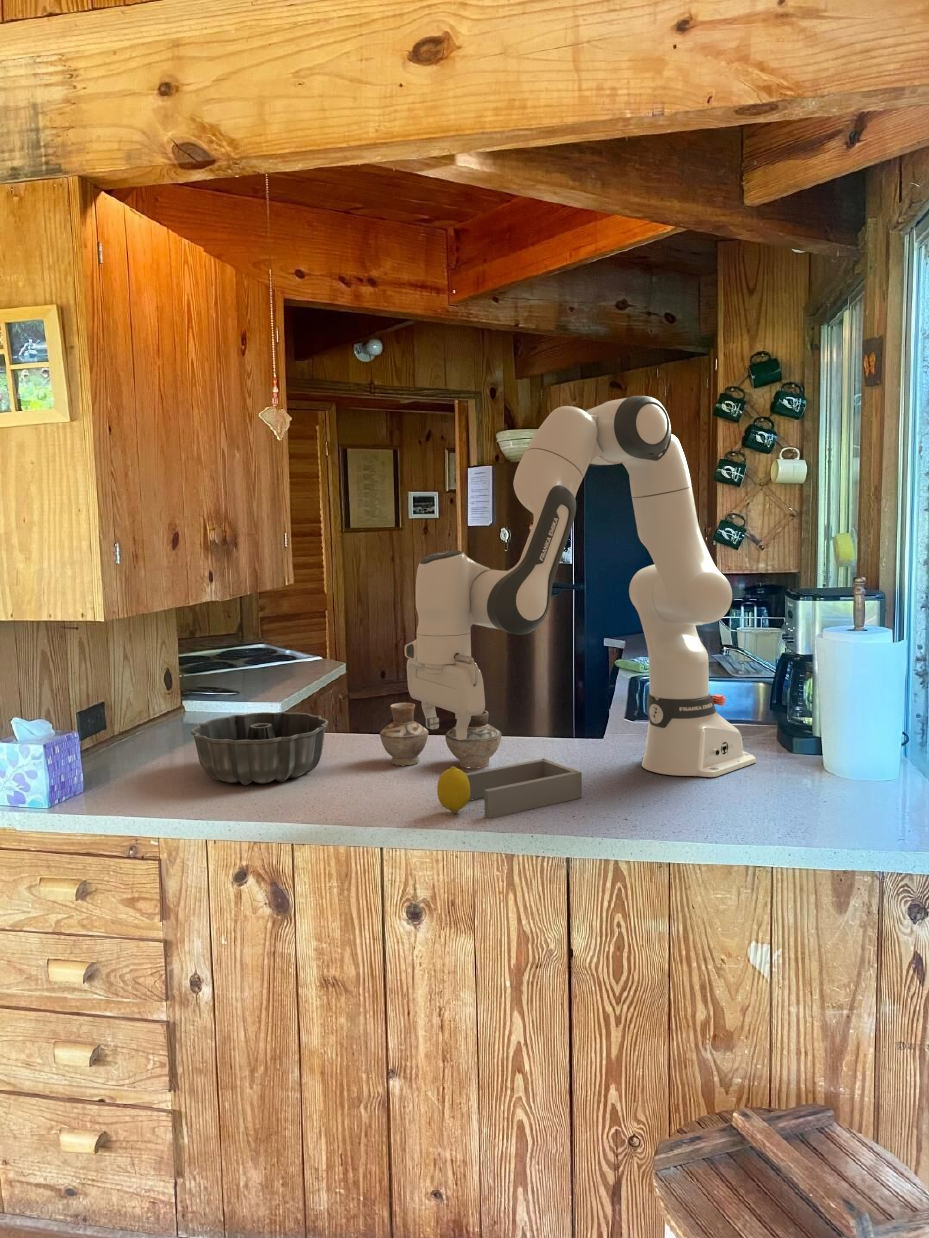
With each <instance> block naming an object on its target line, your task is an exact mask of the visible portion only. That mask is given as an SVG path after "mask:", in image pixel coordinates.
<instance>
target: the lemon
mask: <svg viewBox="0 0 929 1238" xmlns="http://www.w3.org/2000/svg"><path fill="white" fill-rule="evenodd" d="M436 792H437V793H436V794H437V799H438V800H439V803H440V805H441V806H442V807H443V808H445V809H446V810H448V811H450V812H451V813H452V814H457V813H458V812H459V811H460V810H461V809H463V808H465V806H466V805H467V804H468V803H469V801H470V800H469V798H470V783H469V780H468V777H467V775H466V772H464V771H463V770H462V769H459V768H457V767H456V766H454V765H453V766H450V768H448V769H446V770H444V771H443V772H442V773H441V775H440V776H439V778H438V781H437V786H436Z"/></svg>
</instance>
